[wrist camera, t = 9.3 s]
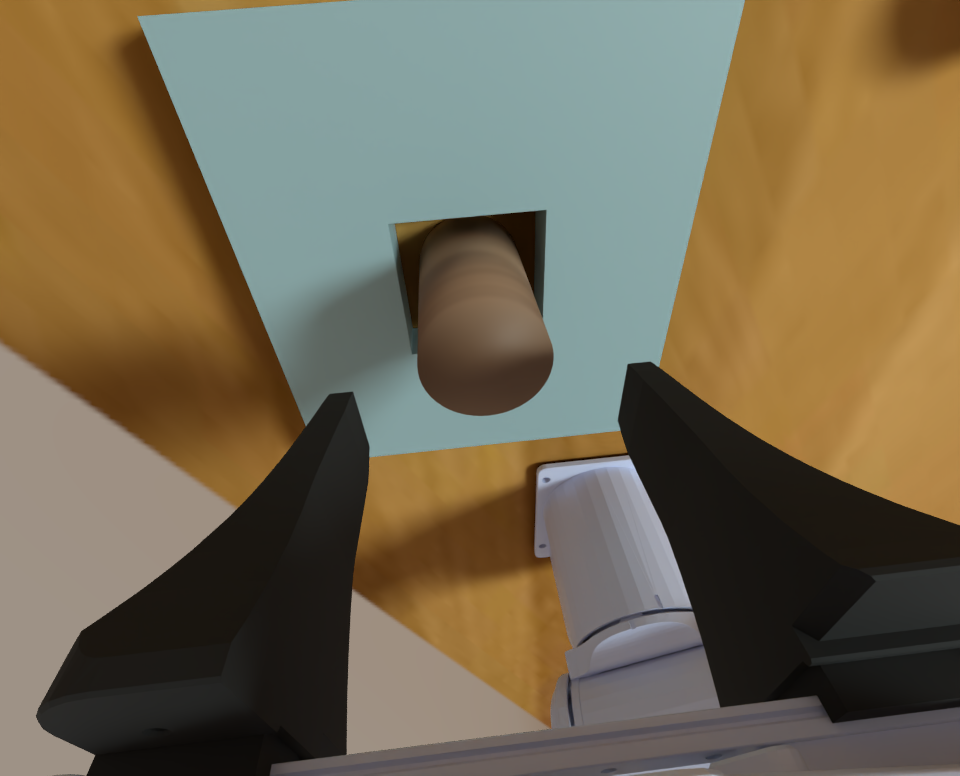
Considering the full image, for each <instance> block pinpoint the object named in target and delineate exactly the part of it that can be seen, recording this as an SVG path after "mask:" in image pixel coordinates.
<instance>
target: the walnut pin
mask: <svg viewBox="0 0 960 776" xmlns="http://www.w3.org/2000/svg"><path fill="white" fill-rule="evenodd" d="M553 360H554V352H553V347H552V343H551V340H550V338H549V335H548V332H547V329H546V327H545V324H544V321H543V319H542V316H541V313H540V311H539V308H538V305H537V302H536V300H535V297H534V294H533V292H532V289H531V286H530V284H529V281H528V278H527V275H526V273H525V270H524V267H523V265H522V262H521V259H520V257H519V254H518V251H517V248H516V246H515V243H514V241H513V239H512V237H511V235H510V234H509V232H508V231H507V230H506V229H505V228H504V227H503V226H502V225H501V224H499V223H498V222H497V221H495V220H493V219H491V218H489V217H486V216H472V217H461V218H450V219H446V220H444V221H443V222H441V223H439V224H438V225H437V226H436V227H435V228H434V229H433V230H432V231H431V232H430V233H429V234H428V236H427V237H426V239H425V241H424V243H423V245H422V248H421V252H420V261H419V305H418V350H417V369H418V375H419V379H420V381H421V384H422V386H423V387H424V389H425V391H426V392H427V393H428V394H429V396H430V397H431V398H432V399H434V400H435V401H436V402H437V403H439V404H440V405H442V406H443V407H445V408H447V409H449V410H451V411H454V412H457V413H461V414H465V415H471V416H490V415H496V414H501V413H505V412H508V411H510V410H513V409H515V408H517V407H519V406H521V405H523V404H525V403H526V402H528V401H529V400H530V399H532V398H533V397H534V396H535V395H536V394H537V393H538V392H539V391H540V390H541V389H542V387H543V386H544V385H545V383H546V382H547V380H548V378H549V376H550V374H551V370H552V367H553Z"/></svg>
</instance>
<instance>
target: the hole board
mask: <svg viewBox="0 0 960 776" xmlns="http://www.w3.org/2000/svg"><path fill="white" fill-rule="evenodd" d="M744 2H745V0H354V1H340V2H327V3H313V4H300V5H286V6H272V7H259V8H245V9H232V10H218V11H205V12H191V13H177V14H164V15H150V16H137V17H138V19H139V22H140V24H141V27H142V29H143V31H144V34H145V36H146V39H147V41H148V44H149V46H150V48H151V51H152V53H153V56H154V58H155V61H156V63H157V65H158V68H159V70H160V73H161V75H162V78H163V80H164V82H165V85H166V87H167V90H168V92H169V95H170V97H171V99H172V102H173V104H174V107H175V109H176V112H177V114H178V116H179V119H180V121H181V124H182V126H183V129H184V131H185V134H186V136H187V138H188V141H189V143H190V146H191V148H192V151H193V153H194V155H195V158H196V160H197V163H198V165H199V168H200V170H201V172H202V175H203V177H204V180H205V182H206V185H207V187H208V189H209V192H210V194H211V197H212V199H213V202H214V204H215V206H216V209H217V211H218V214H219V216H220V219H221V221H222V223H223V226H224V228H225V231H226V233H227V236H228V238H229V240H230V243H231V245H232V248H233V250H234V253H235V255H236V257H237V260H238V262H239V265H240V267H241V270H242V272H243V274H244V277H245V279H246V282H247V284H248V287H249V289H250V291H251V294H252V296H253V299H254V301H255V304H256V306H257V309H258V311H259V313H260V316H261V318H262V321H263V323H264V326H265V328H266V330H267V333H268V335H269V338H270V340H271V343H272V345H273V347H274V350H275V352H276V355H277V357H278V360H279V362H280V364H281V367H282V369H283V372H284V374H285V377H286V379H287V381H288V384H289V386H290V389H291V391H292V394H293V396H294V398H295V401H296V403H297V406H298V408H299V411H300V413H301V415H302V418H303V420H304V423H305V425H306V426H307V424H308V423H309V422H310V420H311V419H312V417H313V416H314V414H315V413H316V412H317V410H318V409H319V407H320V406H321V404H322V403H323V402H324V400H325V399H326V397H327V396H328V395H329V394H333V393H343V392H353V393H354V396H355V399H356V403H357V406H358V409H359V413H360V416H361V419H362V423H363V426H364V429H365V433H366V436H367V439H368V443H369V446H370V450H369V457H376V456H385V455H395V454H404V453H414V452H423V451H433V450H442V449H451V448H461V447H470V446H480V445H489V444H498V443H508V442H517V441H527V440H536V439H545V438H555V437H564V436H574V435H583V434H592V433H602V432H611V431H621V430H620V427H619V424H618V415H619V409H620V404H621V398H622V393H623V387H624V381H625V376H626V370H627V365H628V364H630V363H640V362H650V361H651V362H652V363H653V364H655V365H656V366H658V367H659V364H660V360H661V355H662V351H663V347H664V343H665V338H666V334H667V330H668V326H669V321H670V317H671V313H672V309H673V304H674V300H675V296H676V292H677V287H678V283H679V279H680V275H681V270H682V266H683V262H684V258H685V253H686V249H687V245H688V240H689V236H690V232H691V228H692V223H693V219H694V215H695V211H696V206H697V202H698V198H699V194H700V189H701V185H702V181H703V177H704V172H705V168H706V164H707V160H708V155H709V151H710V147H711V143H712V138H713V134H714V130H715V125H716V121H717V117H718V113H719V108H720V104H721V100H722V96H723V91H724V87H725V83H726V79H727V74H728V70H729V66H730V62H731V57H732V53H733V49H734V45H735V40H736V36H737V32H738V27H739V23H740V19H741V15H742V10H743V6H744ZM528 211H536V214H535V268H534V297H535V300H536V302H537V305H538V308H539V311H540V313H541V316H542V319H543V321H544V324H545V327H546V329H547V332H548V335H549V338H550V340H551V343H552V347H553V352H554V360H553V367H552V370H551V374H550V376H549V378H548V380H547V382H546V383H545V385H544V386H543V387H542V389H541V390H540V391H539V392H538V393H537V394H536V395H535V396H534V397H533V398H532V399H530V400H529V401H528V402H526V403H525V404H523V405H521V406H519V407H517V408H515V409H513V410H510V411H508V412H505V413H501V414H496V415H490V416H471V415H465V414H461V413H457V412H454V411H451V410H449V409H447V408H445V407H443V406H442V405H440V404H439V403H437V402H436V401H435V400H434V399H432V398H431V397H430V396H429V394H428V393H427V392H426V391H425V389H424V387H423V386H422V384H421V381H420V379H419V375H418V369H417V350H418V328H413V326H412V320H411V315H410V309H409V303H408V297H407V292H406V286H405V280H404V275H403V269H402V263H401V257H400V252H399V246H398V240H397V235H396V229H395V223H405V222H416V221H428V220H439V219H450V218H461V217H472V216H483V215H494V214H506V213H517V212H528Z"/></svg>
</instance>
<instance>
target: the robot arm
mask: <svg viewBox="0 0 960 776" xmlns="http://www.w3.org/2000/svg"><path fill="white" fill-rule="evenodd" d="M618 424H619V427H620V430H621V434H622V437H623V440H624V443H625V446H626V449H627V452H628V454H629V455H626V456H617V457H608V458H598V459H589V460H580V461H571V462H561V463H552V464H544V465H541V466H539V467H538V469H537V474H536V506H535V539H534V552H535V556H536V557H539V558H543V557H550V559H551V563H552V568H553V572H554V577H555V581H556V586H557V590H558V595H559V599H560V603H561V608H562V612H563V617H564V621H565V626H566V630H567V634H568V637H569V640H570V643H571V645H572V647H573V649H571V650H568V651H566V652H565V656H566V661H567V666H568V670H569V673H566V674H562V675H561V676H560V677H559V678H558V681H557V683H556V688H555V691H554V693H553V696H552V700H551V725H552V729H547V730H540V731H531V732H523V733H516V734H508V735H500V736H492V737H484V738H476V739H468V740H460V741H452V742H445V743H437V744H428V745H420V746H412V747H405V748H397V749H389V750H381V751H373V752H365V753H357V754H349V755H346V754H347V753H346V752H347V749H346V742H347V740H346V738H347V684H348V653H349V633H350V632H349V631H350V612H351V598H352V583H353V571H354V564H355V556H356V550H357V545H358V539H359V533H360V527H361V522H362V516H363V510H364V504H365V498H366V492H367V486H368V476H369V450H370V446H369V443H368V439H367V436H366V433H365V429H364V426H363V423H362V419H361V416H360V413H359V409H358V406H357V403H356V399H355V396H354V393H353V392H343V393H333V394H329V395H328V396H327V397H326V399H325V400H324V402H323V403H322V404H321V406H320V407H319V409H318V410H317V412H316V413H315V414H314V416H313V417H312V419H311V420H310V422H309V423H308V424H307V426H306V427H305V429H304V430H303V431H302V433H301V434H300V435H299V437H298V438H297V439H296V441H295V442H294V443H293V445H292V446H291V447H290V449H289V450H288V451H287V453H286V454H285V455H284V457H283V458H282V459H281V460H280V462H279V463H278V464H277V465H276V466H275V468H274V469H273V470H272V471H271V472H270V474H269V475H268V476H267V477H266V478H265V479H264V481H263V482H262V483H261V484H260V485H259V486H258V488H257V489H256V490H255V491H254V492H253V493H252V494H251V495H250V496H249V497H248V498H247V499H246V501H245V502H244V503H243V504H242V505H241V506H240V507H239V508H238V509H237V510H236V511H235V512H234V513H233V514H232V515H231V516H230V517H229V518H228V519H227V520H225V521H224V522H223V523H222V524H221V525H220V526H219V527H218V528H217V529H215V530H214V531H213V532H212V533H211V534H210V535H209V536H207V537H206V538H205V539H204V540H203V541H202V542H201V543H200V544H199V545H197V546H196V547H195V548H194V549H193V550H192V551H190V552H189V553H188V554H187V555H186V556H184V557H183V558H182V559H181V560H180V561H178V562H177V563H176V564H174V565H173V566H172V567H171V568H170V569H168V570H167V571H166V572H164V573H163V574H162V575H160V576H159V577H158V578H156V579H155V580H154V581H153V582H151V583H150V584H149V585H147V586H146V587H144V588H143V589H142V590H140V591H139V592H138V593H137V594H135V595H133V596H132V597H131V598H129V599H128V600H126V601H125V602H123V603H122V604H120V605H119V606H118V607H116V608H115V609H113V610H112V611H110V612H109V613H107V614H106V615H105V616H103V617H102V618H100V619H99V620H97V621H96V622H94V623H93V624H92V625H90V626H88V627H87V628H86V629H84V630H82V631H81V633H80V635H79V636H78V638H77V640H76V641H75V643H74V645H73V647H72V648H71V650H70V652H69V654H68V655H67V657H66V659H65V661H64V663H63V665H62V666H61V668H60V670H59V672H58V674H57V676H56V677H55V679H54V681H53V683H52V685H51V687H50V688H49V690H48V692H47V694H46V696H45V698H44V699H43V701H42V703H41V705H40V707H39V708H38V711H37V715H36V718H37V720H38V722H39V723H40V725H41V727H42V728H43V729H44V730H46V731H47V732H49V733H51V734H52V735H54V736H56V737H58V738H60V739H62V740H65V741H67V742H69V743H71V744H73V745H75V746H77V747H79V748H82V749H84V750H86V751H88V752H90V753H92V754H94V755H95V757H94V760H93V762H92V764H91V766H90V769H89V771H88V774H87V776H960V525H957V524H954V523H951V522H948V521H945V520H942V519H940V518H937V517H934V516H931V515H928V514H925V513H922V512H919V511H916V510H913V509H911V508H908V507H905V506H902V505H900V504H897V503H894V502H892V501H889V500H887V499H884V498H882V497H879V496H877V495H874V494H872V493H869V492H867V491H864V490H862V489H860V488H857V487H855V486H853V485H850V484H848V483H846V482H843V481H841V480H839V479H837V478H835V477H833V476H830V475H828V474H826V473H824V472H822V471H820V470H818V469H816V468H814V467H811V466H809V465H807V464H805V463H803V462H801V461H800V460H798V459H796V458H794V457H792V456H790V455H788V454H786V453H785V452H783V451H781V450H779V449H777V448H776V447H774V446H772V445H770V444H768V443H767V442H765V441H763V440H761V439H760V438H758V437H756V436H755V435H753V434H752V433H750V432H748V431H747V430H745V429H744V428H742V427H741V426H739V425H738V424H736V423H734V422H733V421H731V420H730V419H728V418H727V417H725V416H724V415H723V414H721V413H720V412H718V411H717V410H715V409H714V408H712V407H711V406H710V405H708V404H707V403H706V402H704V401H703V400H701V399H700V398H699V397H697V396H696V395H695V394H693V393H692V392H691V391H689V390H688V389H687V388H685V387H684V386H683V385H681V384H680V383H679V382H677V381H676V380H675V379H674V378H672V377H671V376H670V375H668V374H667V373H666V372H664V371H663V370H662V369H660V368H659V367H658V366H656V365H655V364H653V363H652V362H651V361H650V362H640V363H630V364H628V365H627V370H626V376H625V381H624V387H623V393H622V398H621V404H620V409H619V415H618ZM545 477H546V478H545ZM54 776H83V775H73V774H67V775H54Z"/></svg>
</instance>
